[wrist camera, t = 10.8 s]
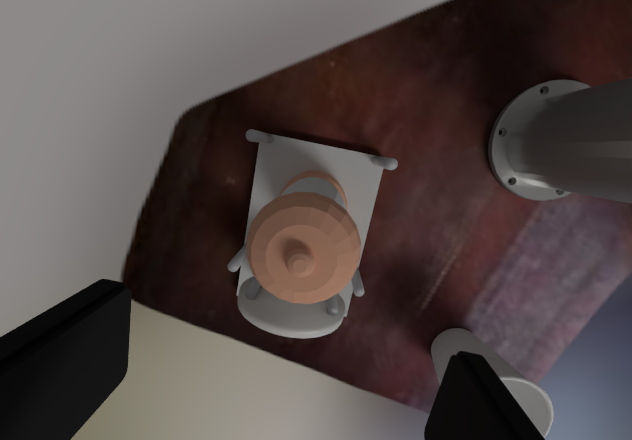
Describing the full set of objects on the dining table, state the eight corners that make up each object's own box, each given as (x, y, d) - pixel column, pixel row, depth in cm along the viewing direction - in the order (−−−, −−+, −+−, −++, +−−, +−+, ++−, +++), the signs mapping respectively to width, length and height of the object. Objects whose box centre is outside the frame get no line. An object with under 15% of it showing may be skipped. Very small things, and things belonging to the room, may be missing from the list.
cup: (432, 304, 38) (473, 364, 27) (504, 325, 38) (573, 393, 28) (404, 367, 40) (433, 446, 30) (473, 386, 41) (525, 471, 30)
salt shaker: (298, 242, 35) (269, 346, 17) (271, 186, 34) (205, 233, 15) (355, 217, 35) (390, 298, 16) (329, 159, 33) (335, 173, 14)
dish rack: (383, 157, 34) (415, 162, 22) (345, 311, 39) (354, 384, 27) (263, 132, 34) (229, 124, 22) (239, 291, 38) (200, 355, 27)
